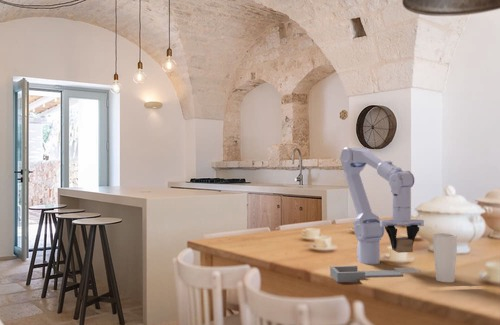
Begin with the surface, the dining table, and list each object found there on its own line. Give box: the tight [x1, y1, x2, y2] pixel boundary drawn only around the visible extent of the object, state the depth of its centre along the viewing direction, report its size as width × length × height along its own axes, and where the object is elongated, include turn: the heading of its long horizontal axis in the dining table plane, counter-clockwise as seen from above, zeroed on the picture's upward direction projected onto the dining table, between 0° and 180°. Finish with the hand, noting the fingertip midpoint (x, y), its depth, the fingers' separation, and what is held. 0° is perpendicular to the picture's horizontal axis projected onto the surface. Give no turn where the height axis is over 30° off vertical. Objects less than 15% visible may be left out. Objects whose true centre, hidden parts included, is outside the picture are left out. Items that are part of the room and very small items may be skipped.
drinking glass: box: [432, 232, 458, 283], centre depth 147 cm, size 7×7×15 cm
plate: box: [393, 266, 421, 274], centre depth 161 cm, size 7×7×1 cm
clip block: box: [391, 236, 414, 254], centre depth 159 cm, size 5×5×4 cm
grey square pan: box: [329, 265, 404, 283], centre depth 155 cm, size 9×22×3 cm, turn 95°
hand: (401, 247), depth 159 cm, fingers closed on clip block, 5 cm apart
